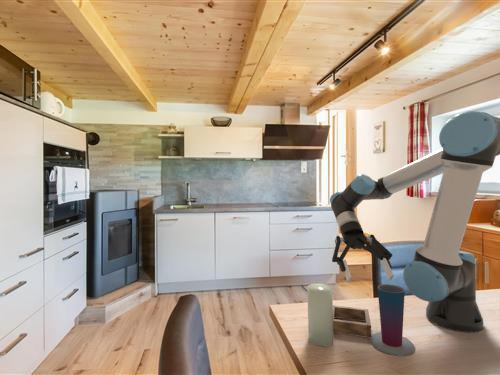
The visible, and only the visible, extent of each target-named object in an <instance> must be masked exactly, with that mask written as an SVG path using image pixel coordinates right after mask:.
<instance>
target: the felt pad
mask: <svg viewBox="0 0 500 375" xmlns="http://www.w3.org/2000/svg"><path fill="white" fill-rule="evenodd" d="M369 339H370V340H369V341H370V344H371V345H372V347H373V348H375V349H377V350H378V351H380V352H381V353H385V354H387V355H390V356H396V357H406V356H407V357H408V356H411V355H412V354H414V352H415V344H414V343H413V342H412V341H411V340H409V339H408V338H406V337H405V336H403V335H402V345H401V346H400V347H392V346H388V345H386V344H384V343H383V342H382V335H381V332H380V331H379V332H375V333H372V334H371V338H369Z"/></svg>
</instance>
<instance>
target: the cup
mask: <svg viewBox="0 0 500 375" xmlns="http://www.w3.org/2000/svg"><path fill="white" fill-rule="evenodd" d="M405 292H406V290H405V289H404V288H403V287H402V286H399V285H397V284H396V285H394V284H390V283H389V284H387V283H386V284H379V285H377V295H378V296H377V297H378V308H379V321H380V330H381V335H382V342H383V343H384V344H386V345H388V346H392V347H400V346H401V345H402V336H403V329H404V311H405V295H406V294H405Z"/></svg>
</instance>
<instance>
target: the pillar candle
mask: <svg viewBox="0 0 500 375" xmlns="http://www.w3.org/2000/svg"><path fill="white" fill-rule="evenodd" d="M306 290H307V319H308V321H307V322H308V324H307V325H308V326H307V328H308V330H307V331H308V340H309V342H310V343H312V344H313V345H316V346H320V347H321V346H322V347H326V346H330V345H332V344H333V343H334V332H333V305H334V304H333V300H334V299H333V298H334V297H333V287H332V286H331V285H329V284H326V283H320V282H319V283H311V284H308V285H307V289H306Z"/></svg>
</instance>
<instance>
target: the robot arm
mask: <svg viewBox="0 0 500 375" xmlns="http://www.w3.org/2000/svg"><path fill="white" fill-rule="evenodd" d="M438 138H439V139H438V141H439V145H440V146H441V148H440V149H437V150H435V151H433V152H432V153H429V154H427V155H426V156H424V157H421V158H419V159H417V160H415V161H413V162H410V163H409V164H406V165H404V166H403V167H400V168H399V169H396V170H394V171H392V172H389V173H388V174H386V175H384V176H382V177H380V178H376V179H375V180H374V179H372V177H370V176H368V175H367V174H365V173H361V174H358V175H357V176H356V177H355V178H353V179H352V181H351V182H350V183H349V184H348V185H347V186H346V187H345V189H344V190H343V191H336V192H335V193H333V194H332V195H330V198H329V203H330V207H331V208H330V209H332V212H333V214H334V217H335V220H336V223H337V226H338V229H339V231H340V234H341V237H340V235H336V237H335V239H334V242H335V246H334V250H333V253H332V254H333V255H332V257H331V259H332V260H331V262H332V263H336V264H337V265H338V266H339V268H340V271H341V272H343V273H344V276H345V278H346V282H347V283H350V282H352V281H351V280H352V279H353V278H352V274H351V271H350V268H349V266H348V262H347V259H345V258H346V256H347V254H348V253H349V251H350V250H351V249H352V250H357V249H358V250H362V249H363V250H364V251H367V252H369V253H370V254H372V255H373V256H375V258H378V260H380V265H381V266H382V269H383V270H384V273H385V275H386V277H387V279H388V281H392V279H393V278H394V276H395V275H394V273H393V271H392V263H391V262H390V260H391V259H392V257H393V253H391V252H390V251H389V249H388V248H387V247H385V246H384V245H383V244H382V243H381V242H380V241H379V240H378V239H377V238H376V237H375V235H374V234H370V235H368V236H366V235H365V234H364V230H363V228H362V225H361V222H360V220H359V217H358V216H357V214H356V212H355V209H356V208H357V207H358V206H359V205H360V204H361V203H362V202H363V201H368V200H370V201H371V200H385V199H389V198H390V197H392V195H394V194H395V193H398V192H401V191H403V190H406V189H408V188H411V187H413V186H415V185H417V184H420V183H422V182H425V181H427V180H431V179H432V178H435V177H436V176H437V177H438V176H439V175H442V176H441V179H440V183H439V188H438V191H437V194H436V199H435V202H434V206H433V209H432V213H431V217H430V220H429V223H428V227H427V231H426V234H425V238H424V242H423V244H422V245H419V246H417V247H416V249H415V252H414V256H413V259H412V260H413V261H411V262H409V263H407V265H406V266H405V267H404V269H403V273H402V277H403V281H404V284H405V286H407V289H408V291H409V292H410V293H411V294H412V295H414V296H415V297H416V298H418V299H420V300H422V301H425V302H428V303H427V305H426V309H425V316H426V318H427V320H429V321H430V322H432V323H433V324H435V325H437V326H438V327H442V328H444V329H448V330H451V331H456V332H461V333H462V332H464V333H476V332H477V333H478V332H481V331H483V330H484V327H485V326H484V318H483V315H482V313H481V310H480V309H479V305H478V303H477V295H476V294H477V293H476V292H477V291H476V289H477V288H476V287H477V286H476V284H477V283H476V281H477V278H476V277H477V276H476V267H477V264H476V259H475V258H476V257H475V255H474V254H472V253H471V252H468V251H462V250H460V249H461V246H462V243H463V239H464V237H465V234H466V233H465V232H466V229H467V226H468V223H469V220H470V216H471V213H472V210H473V206H474V203H475V200H476V197H477V193H478V190H479V186H480V183H481V181H482V177H483V174H484V173H485V172H486V171H488V170H490V169H492V168H493V166H494V163H495V159H496V157H497V156H500V117H497V116H494V115H491V114H489V113H488V112H484V111H473V110H472V111H470V110H469V111H463V112H461V113H458V114H455V115H454V116H452V117H450V118H449V119H448V120H446V122H444V124H443V126H442V127H441V130H440V132H439V136H438ZM342 243H344V244H345V245H346V246H345V248H344V249H343V251H342V252H341V254H340V256H338V255H339V251H340V247H341V244H342Z"/></svg>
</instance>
